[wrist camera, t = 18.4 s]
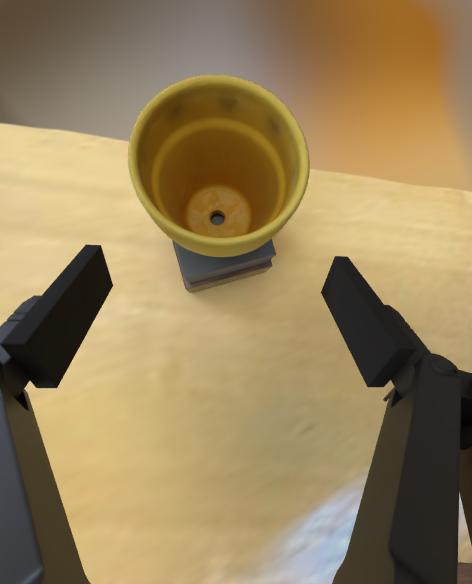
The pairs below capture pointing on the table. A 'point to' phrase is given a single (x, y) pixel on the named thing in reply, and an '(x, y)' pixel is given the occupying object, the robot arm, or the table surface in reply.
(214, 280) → the base block
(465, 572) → the tissue box cover
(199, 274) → the top block
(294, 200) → the flower pot
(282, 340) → the table surface
